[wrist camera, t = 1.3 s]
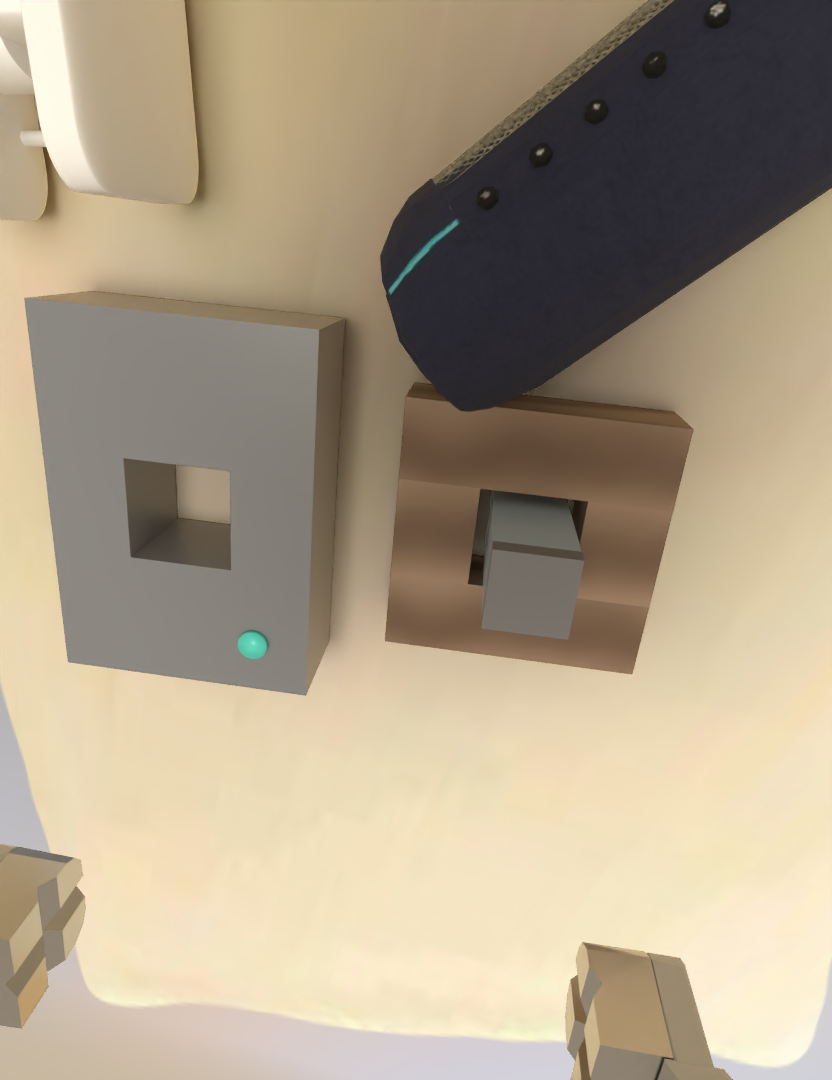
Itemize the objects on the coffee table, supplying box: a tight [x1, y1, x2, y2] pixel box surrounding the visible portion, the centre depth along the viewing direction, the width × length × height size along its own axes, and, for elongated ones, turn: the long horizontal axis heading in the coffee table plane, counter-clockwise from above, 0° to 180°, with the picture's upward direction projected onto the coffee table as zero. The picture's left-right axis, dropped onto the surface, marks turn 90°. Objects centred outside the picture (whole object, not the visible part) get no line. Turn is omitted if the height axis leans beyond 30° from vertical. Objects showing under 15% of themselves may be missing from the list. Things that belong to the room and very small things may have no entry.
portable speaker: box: [380, 0, 832, 412], centre depth 29 cm, size 25×10×10 cm, turn 126°
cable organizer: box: [0, 0, 199, 221], centre depth 29 cm, size 15×11×12 cm
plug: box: [481, 490, 584, 640], centre depth 36 cm, size 4×4×10 cm
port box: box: [24, 291, 345, 695], centre depth 39 cm, size 20×14×6 cm
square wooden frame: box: [385, 383, 693, 674], centre depth 39 cm, size 14×14×4 cm
